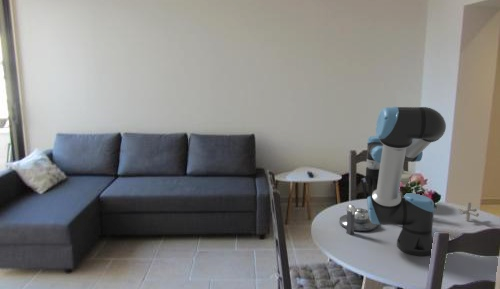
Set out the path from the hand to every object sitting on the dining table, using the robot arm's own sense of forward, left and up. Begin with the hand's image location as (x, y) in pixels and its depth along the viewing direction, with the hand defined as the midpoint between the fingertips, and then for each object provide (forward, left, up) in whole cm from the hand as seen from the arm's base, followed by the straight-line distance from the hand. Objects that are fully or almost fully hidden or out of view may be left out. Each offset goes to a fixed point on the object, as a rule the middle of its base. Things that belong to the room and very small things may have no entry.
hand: (371, 212), depth 195 cm
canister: (+7, -31, -4) cm, 32 cm away
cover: (-1, +10, -2) cm, 10 cm away
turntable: (0, +10, -4) cm, 11 cm away
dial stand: (-5, +21, -4) cm, 22 cm away
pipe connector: (-28, -38, -4) cm, 48 cm away
